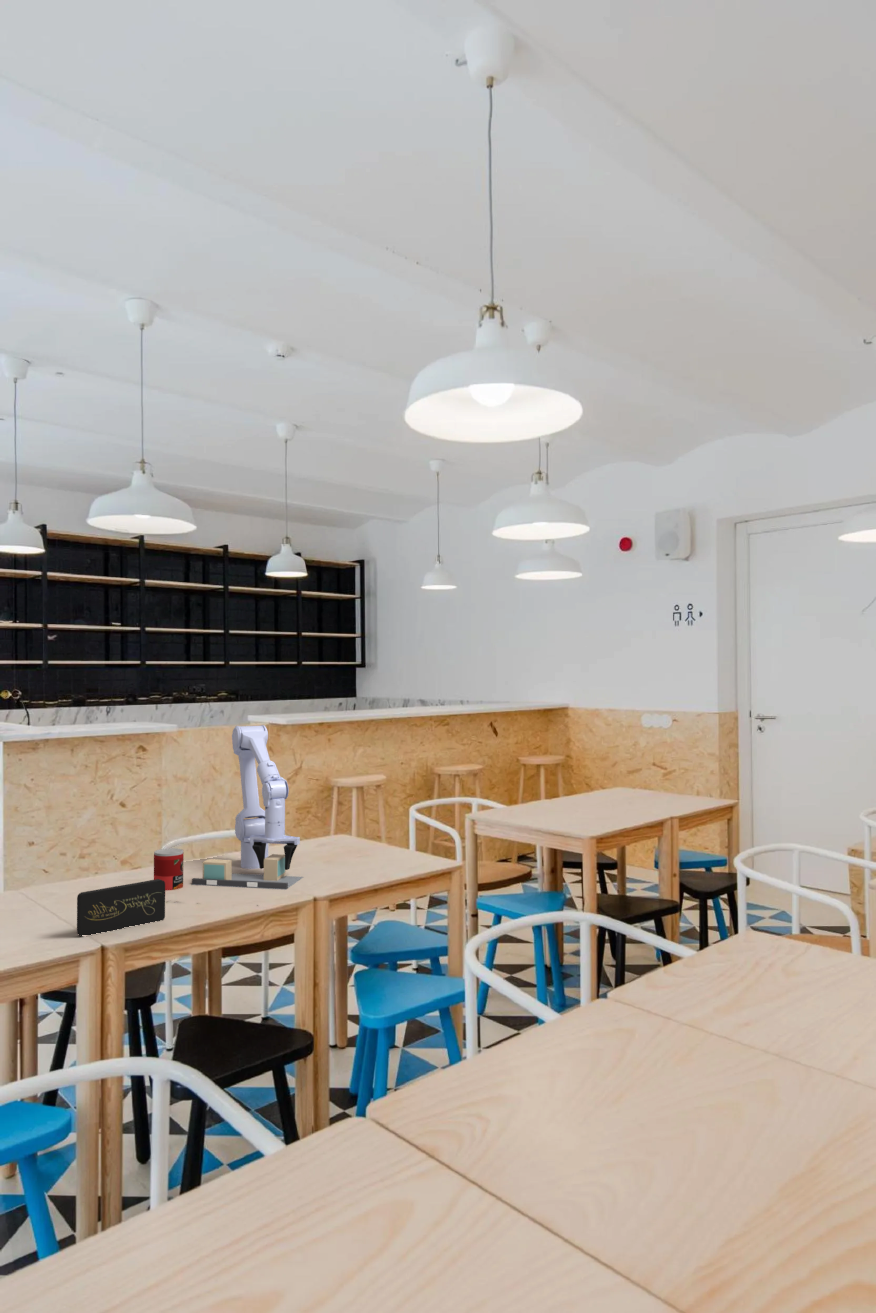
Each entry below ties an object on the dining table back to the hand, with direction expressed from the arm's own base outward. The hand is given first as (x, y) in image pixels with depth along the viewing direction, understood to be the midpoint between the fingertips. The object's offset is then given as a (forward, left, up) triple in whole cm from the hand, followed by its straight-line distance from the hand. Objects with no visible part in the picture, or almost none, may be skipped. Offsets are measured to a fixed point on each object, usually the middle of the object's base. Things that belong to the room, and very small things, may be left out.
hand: (274, 868), depth 258 cm
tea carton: (0, 0, -3) cm, 3 cm away
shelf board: (+5, -6, -4) cm, 9 cm away
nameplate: (+50, -19, -4) cm, 54 cm away
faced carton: (+8, -14, -3) cm, 17 cm away
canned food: (+16, -25, -4) cm, 30 cm away
